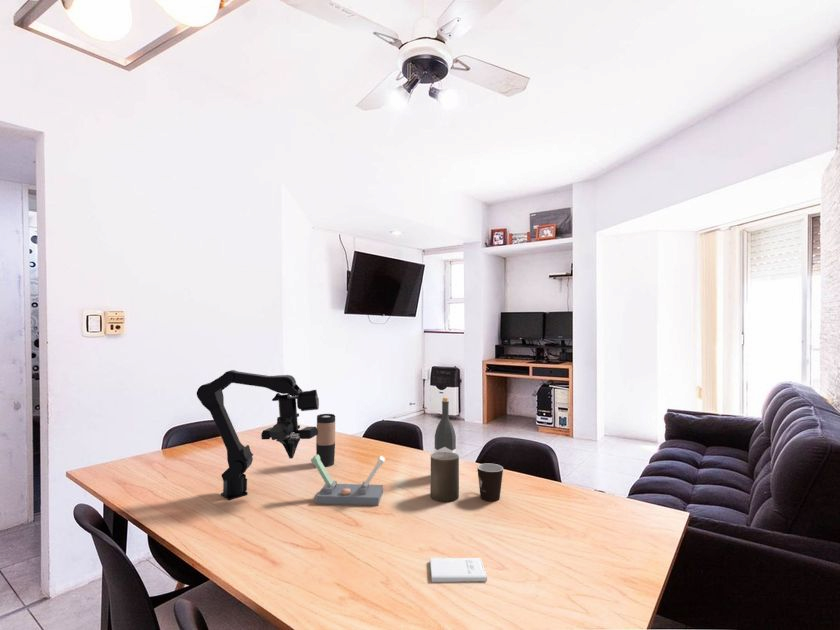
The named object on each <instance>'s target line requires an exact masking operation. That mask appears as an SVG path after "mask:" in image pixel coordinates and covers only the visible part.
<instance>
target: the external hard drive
mask: <svg viewBox="0 0 840 630" xmlns="http://www.w3.org/2000/svg"><path fill="white" fill-rule="evenodd" d="M483 562H484V561H483V560H482V557H430V558H429V565H430V566H429V568H430V578H431V583H463V582H462V581H468V582H469V581H487V582H488V575H487V572H486V569H485V566H484V563H483ZM460 581H461V582H460ZM469 583H470V582H469Z"/></svg>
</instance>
